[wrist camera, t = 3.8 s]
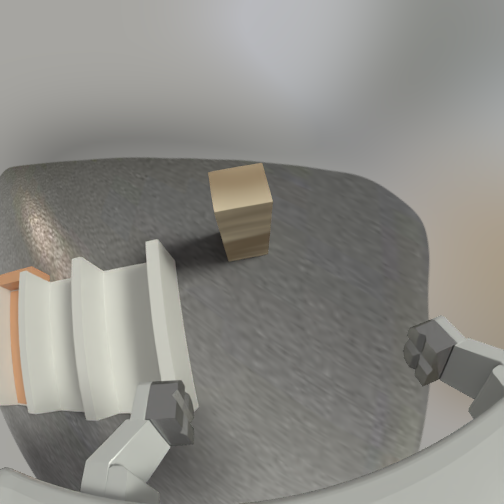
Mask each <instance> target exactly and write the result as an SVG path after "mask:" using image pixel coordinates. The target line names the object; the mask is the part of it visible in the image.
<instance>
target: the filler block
mask: <svg viewBox="0 0 504 504" xmlns="http://www.w3.org/2000/svg"><path fill="white" fill-rule="evenodd" d="M208 175H209V181H210V188H211V195H212V201H213V208H214V213H215V217H216V220H217V224H218V227H219V231H220V234H221V237H222V241H223V244H224V248H225V251H226V254H227V258H228V261H229V262H230V261H235V260H240V259H245V258H250V257H256V256H261V255H266V254H268V248H269V237H270V226H271V215H272V204H273V201H272V197H271V193H270V190H269V186H268V183H267V179H266V175H265V172H264V168H263V165H262V163H258V164H252V165H246V166H240V167H235V168H229V169H224V170H218V171H213V172H208Z"/></svg>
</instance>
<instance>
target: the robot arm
mask: <svg viewBox="0 0 504 504" xmlns="http://www.w3.org/2000/svg"><path fill="white" fill-rule="evenodd" d="M407 336H408V338H409V340H408V341H407V342H406V343H405V345H404V350H403V353H404V359H405V361H406V363H407V365H408V366H409V367H410V368H413V369H415V376H416V378H417V379H418V381H419V382H420V384H421V385H422V386H425V385H428V384H430V383H432V382H434V381H436V380H438V379H440V380H441V381H442V382H444V383H446V384H448V385H449V386H451V387H453V388H455V389H457V390H459V391H460V392H462V393H464V394H466V395H467V396H469V397H471V398H473V399H475V400H474V401H473V403H472V404H471V406H470V407H469V413H470V414H471V416H472V417H473V420H472V421H470V422H469V423H467V424H466V425H464V426H463V427H461V428H460V429H458V430H457V431H455V432H453V433H451V434H450V435H449V436H447V437H445V438H443V439H441V440H440V441H438V442H436V443H434V444H433V445H431V446H429V447H427V448H425V449H423V450H421V451H419V452H417V453H415V454H413V455H411V456H409V457H407V458H405V459H403V460H401V461H398V462H396V463H394V464H392V465H389V466H387V467H385V468H382V469H380V470H377V471H375V472H372V473H369V474H367V475H364V476H361V477H358V478H356V479H353V480H350V481H347V482H343V483H340V484H337V485H334V486H330V487H327V488H323V489H319V490H315V491H311V492H307V493H303V494H298V495H294V496H289V497H283V498H278V499H272V500H265V501H258V502H250V503H241V504H504V350H502V349H499V348H497V347H494V346H491V345H487V344H485V343H482V342H479V341H476V340H473V339H470V338H468V339H466V338H465V337H464V336H463V335H462V334H461V333H460V332H459V331H458V330H457V329H456V328H455V327H454V326H453V325H452V324H451V323H450V322H449V321H448V320H447V319H446V318H445V317H444V316H438V317H436V318H434V319H431V320H428V321H426V322H423V323H421V324H418V325H416V326H413V327H411V328H410V329H409V330H408V334H407ZM193 419H194V409H193V403H192V400H191V397H190V395H189V394H188V393H186V392H185V385H184V384H183V382H182V380H172V381H153V382H139V384H138V385H137V387H136V392H135V397H134V401H133V406H132V411H131V416H130V420H125V421H124V422H123V423H122V424H121V425H120V426H119V427H118V428H117V430H116V431H115V432H114V433H113V434H112V435H111V436H110V437H109V438H108V439H107V440H106V441H105V442H104V443H103V444H102V445H101V446H100V447H99V448H98V449H97V450H96V451H95V452H94V453H93V454H92V455H91V456H90V457H89V458H88V459H87V460H86V464H85V468H84V473H83V478H82V483H81V489H80V492H78V491H74V490H70V489H67V488H63V487H60V486H57V485H53V484H50V483H47V482H44V481H41V480H39V479H36V478H33V477H31V476H28V475H25V474H23V473H21V472H18V471H16V470H13V469H11V468H6V467H5V468H2V469H0V504H159V495H160V494H159V493H158V492H157V491H156V490H155V489H153V488H152V487H151V486H149V485H148V484H146V483H147V481H148V480H149V478H150V477H151V476H152V474H153V473H154V471H155V470H156V468H157V467H158V465H159V464H160V462H161V461H162V459H163V458H164V456H165V455H166V453H167V452H168V450H169V449H170V446H177V445H192V444H194V428H193V427H192V425H191V424H190V423H191V421H192V420H193Z"/></svg>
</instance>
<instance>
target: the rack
mask: <svg viewBox="0 0 504 504" xmlns="http://www.w3.org/2000/svg"><path fill="white" fill-rule="evenodd" d="M146 259H147V263H142V264H137V265H132V266H127V267H122V268H117V269H112V270H107V271H102V270H101V269H99V268H97V267H96V266H94V265H93V264H91V263H90V262H88V261H87V260H85V259H84V258H82V257H78V258H74V259H72V278H69V279H64V280H59V281H54V282H49V279H50V276H49V275H47V274H45V273H44V272H42V271H40V270H38V269H36V268H34V267H32V266H31V267H27V268H24V269H20V270H17V271H13V272H9V273H6V274H2V275H0V405H25V406H27V408H28V412H29V413H31V414H41V413H48V412H54V411H60V410H63V411H75V412H85V416H86V420H91V421H98V420H101V419H104V418H107V417H110V416H113V415H116V414H119V413H131V411H132V406H133V401H134V397H135V392H136V387H137V385H138V384H139V382H153V381H172V380H182V382H183V384H184V385H185V392H186V393H188V394H189V395H190V397H191V400H192V403H193V409H194V411H195V410H196V409H197V408H199V405H198V401H197V396H196V391H195V386H194V381H193V376H192V371H191V366H190V360H189V355H188V349H187V343H186V337H185V331H184V324H183V318H182V311H181V304H180V296H179V288H178V280H177V272H176V263H175V260H174V259H173V258H172V256H171V255H170V254H169V253H168V251H167V250H166V249H165V248H164V246H163V245H162V244H161V243H160V241H159V240H158V239H157V240H152V241H148V242H146Z"/></svg>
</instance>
